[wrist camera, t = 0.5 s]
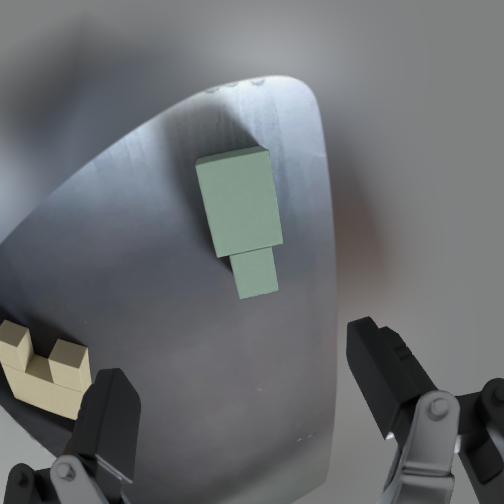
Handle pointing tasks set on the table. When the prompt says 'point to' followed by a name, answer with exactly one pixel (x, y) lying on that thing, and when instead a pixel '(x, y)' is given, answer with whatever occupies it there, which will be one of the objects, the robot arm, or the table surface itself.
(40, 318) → the table surface
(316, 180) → the table surface
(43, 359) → the notch pad
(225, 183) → the pad
